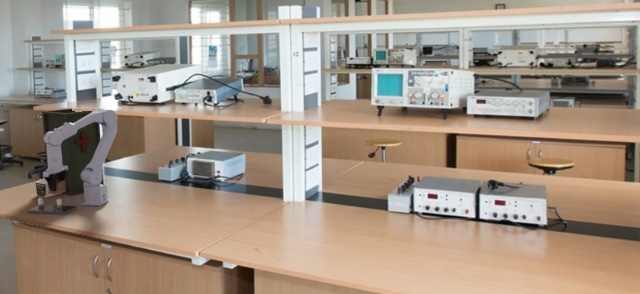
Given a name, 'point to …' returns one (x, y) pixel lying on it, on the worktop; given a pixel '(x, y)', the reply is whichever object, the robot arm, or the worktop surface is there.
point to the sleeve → (58, 187)
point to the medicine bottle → (43, 187)
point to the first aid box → (74, 145)
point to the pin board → (51, 208)
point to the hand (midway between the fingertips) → (57, 189)
